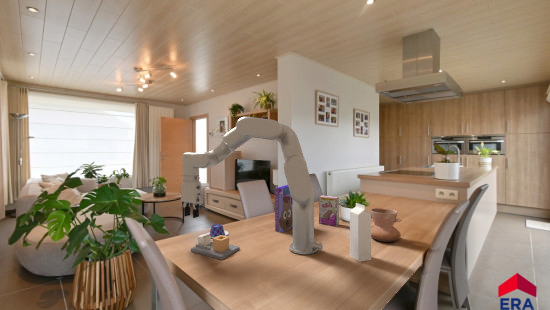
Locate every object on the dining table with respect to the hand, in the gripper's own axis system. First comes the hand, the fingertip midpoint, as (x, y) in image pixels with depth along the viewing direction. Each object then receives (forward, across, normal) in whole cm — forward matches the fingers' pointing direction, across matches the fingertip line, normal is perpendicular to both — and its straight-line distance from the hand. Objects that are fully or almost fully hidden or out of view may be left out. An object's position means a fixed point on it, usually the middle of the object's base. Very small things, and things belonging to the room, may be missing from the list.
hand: (191, 216), depth 118 cm
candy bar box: (+14, -47, -62) cm, 79 cm away
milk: (+14, -73, -23) cm, 78 cm away
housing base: (+13, -15, 0) cm, 20 cm away
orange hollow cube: (+12, -18, 0) cm, 22 cm away
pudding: (+14, -1, -16) cm, 21 cm away
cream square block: (+12, -8, 0) cm, 15 cm away
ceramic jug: (+14, -78, -51) cm, 94 cm away
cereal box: (+14, -28, -44) cm, 54 cm away
